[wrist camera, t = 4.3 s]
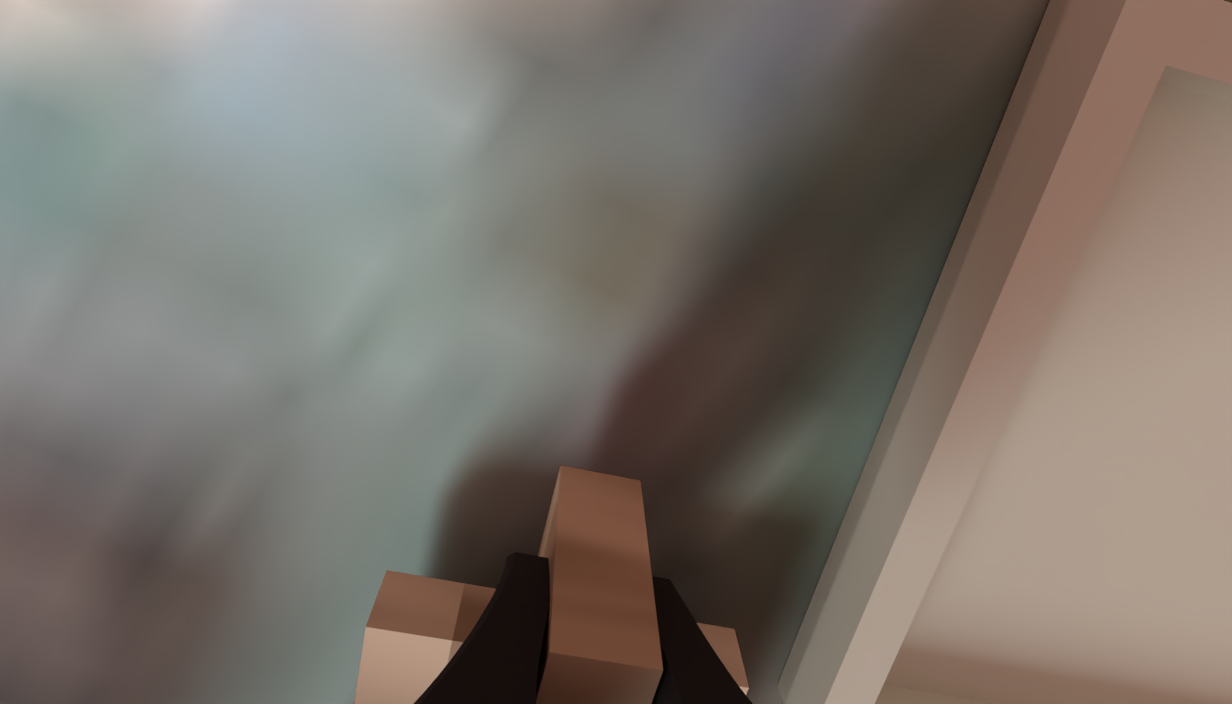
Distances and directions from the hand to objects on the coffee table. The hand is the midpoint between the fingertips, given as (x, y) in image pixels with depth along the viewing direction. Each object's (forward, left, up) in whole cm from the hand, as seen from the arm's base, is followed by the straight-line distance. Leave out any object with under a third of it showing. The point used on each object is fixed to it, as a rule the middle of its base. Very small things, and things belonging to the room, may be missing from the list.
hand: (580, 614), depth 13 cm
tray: (+4, -13, -3) cm, 14 cm away
